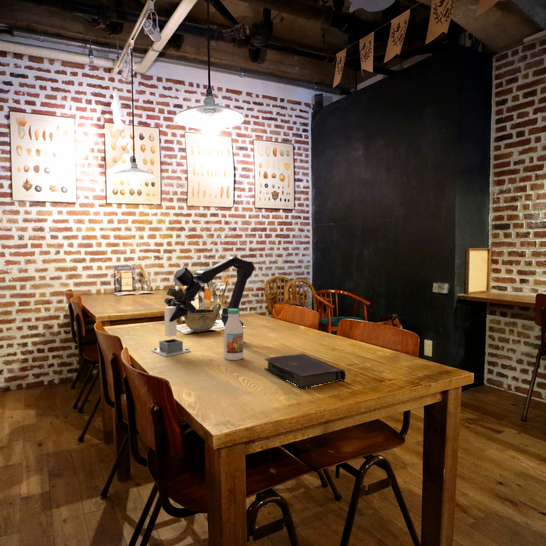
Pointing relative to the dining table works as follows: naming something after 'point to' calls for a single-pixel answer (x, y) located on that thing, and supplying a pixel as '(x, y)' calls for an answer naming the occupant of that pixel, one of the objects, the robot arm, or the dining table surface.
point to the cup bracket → (170, 347)
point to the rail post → (170, 326)
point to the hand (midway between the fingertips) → (167, 320)
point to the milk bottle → (233, 336)
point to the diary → (303, 370)
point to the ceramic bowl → (202, 318)
